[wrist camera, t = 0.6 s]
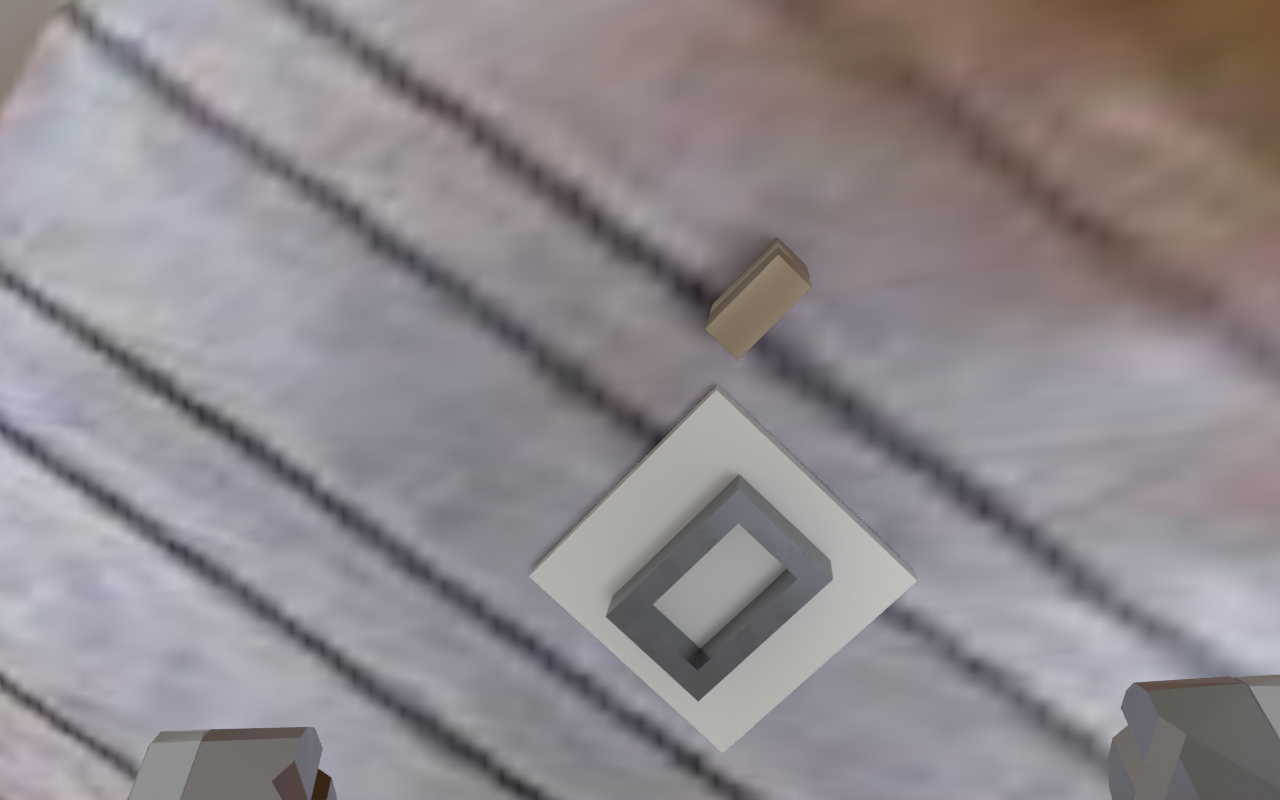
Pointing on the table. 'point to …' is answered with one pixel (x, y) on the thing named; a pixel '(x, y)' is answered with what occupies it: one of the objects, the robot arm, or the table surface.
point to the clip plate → (723, 564)
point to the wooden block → (758, 299)
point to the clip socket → (749, 626)
